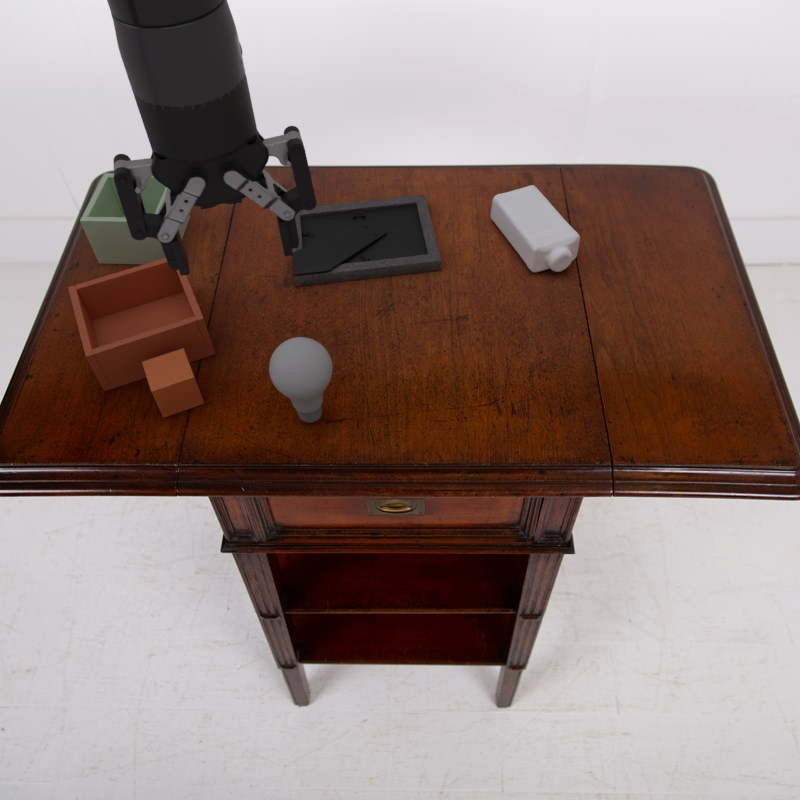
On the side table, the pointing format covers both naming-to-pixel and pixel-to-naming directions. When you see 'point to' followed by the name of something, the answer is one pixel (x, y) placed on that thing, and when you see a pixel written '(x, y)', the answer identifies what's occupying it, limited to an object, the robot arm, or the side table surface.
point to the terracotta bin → (137, 321)
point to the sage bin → (122, 224)
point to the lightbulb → (302, 375)
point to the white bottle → (535, 229)
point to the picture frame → (364, 241)
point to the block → (172, 382)
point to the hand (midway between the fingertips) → (237, 259)
